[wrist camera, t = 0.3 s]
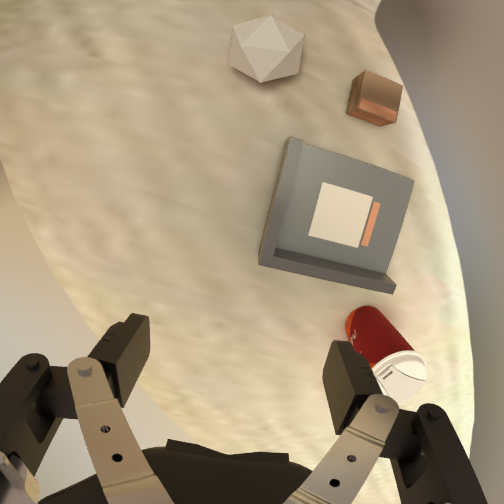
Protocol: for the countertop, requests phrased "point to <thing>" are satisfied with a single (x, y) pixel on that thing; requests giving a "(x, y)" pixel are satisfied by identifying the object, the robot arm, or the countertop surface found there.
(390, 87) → the walnut block
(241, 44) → the die
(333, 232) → the board
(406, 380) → the coffee cup
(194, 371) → the countertop surface
